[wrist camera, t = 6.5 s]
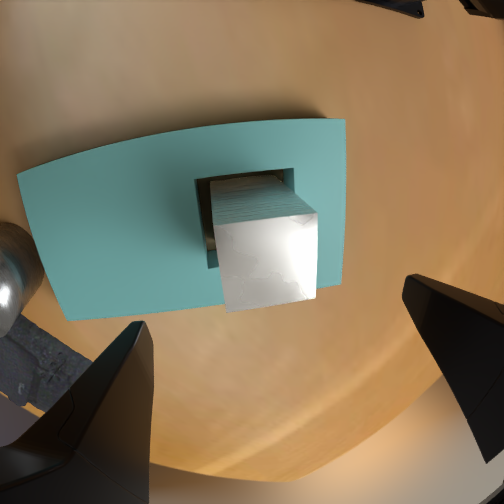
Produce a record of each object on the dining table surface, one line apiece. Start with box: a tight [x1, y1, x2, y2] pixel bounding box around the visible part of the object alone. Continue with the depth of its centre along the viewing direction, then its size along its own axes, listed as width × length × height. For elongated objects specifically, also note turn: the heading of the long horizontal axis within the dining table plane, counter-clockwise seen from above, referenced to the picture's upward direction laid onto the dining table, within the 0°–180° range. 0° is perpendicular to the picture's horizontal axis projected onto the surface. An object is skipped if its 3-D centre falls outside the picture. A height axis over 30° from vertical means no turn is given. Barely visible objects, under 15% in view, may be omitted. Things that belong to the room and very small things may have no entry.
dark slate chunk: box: [0, 314, 93, 412], centre depth 21 cm, size 15×22×5 cm
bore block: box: [17, 118, 346, 321], centre depth 17 cm, size 20×11×2 cm, turn 95°
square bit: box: [210, 174, 318, 313], centre depth 15 cm, size 4×4×8 cm
